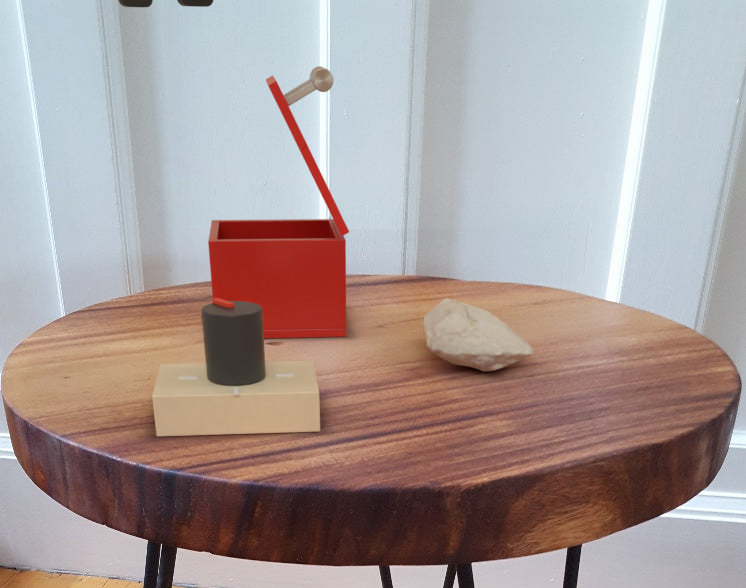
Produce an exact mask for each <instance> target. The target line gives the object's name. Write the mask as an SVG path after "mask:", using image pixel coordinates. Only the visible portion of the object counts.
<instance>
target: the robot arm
mask: <svg viewBox="0 0 746 588" xmlns="http://www.w3.org/2000/svg"><path fill="white" fill-rule="evenodd" d="M176 1H177V3H178V4H179V5H180V6H181V7H198V8H199V7H200V8H203V7H204V8H205V7H206V8H207V7H210V6H212V5H213V2H214V0H176ZM118 2H119V4H120V5H121V6H122V7H124V8H149V7H151V6H152V4H153V0H118Z"/></svg>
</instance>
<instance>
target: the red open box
mask: <svg viewBox="0 0 746 588" xmlns="http://www.w3.org/2000/svg"><path fill="white" fill-rule="evenodd" d="M207 243H208V256H209V257H208V258H209V267H210V268H209V269H210V282H211V293H212V299H214V298H220V299H223V300H226V301H244V302H251V303H255V304H258V305H260V306H261V307H262V314H263V333H264V339H298V338H301V339H302V338H339V337H340V338H341V337H342V338H343V337H344V338H345V337H347V260H346V259H347V251H346V250H347V240H346V238H345V235H343V236H341V234H340V232H339V230H338V228H337V226H336V224H335V221H334V219H333V218H319V219H318V218H316V219H315V218H307V219H306V218H301V219H300V218H299V219H296V218H293V219H212V220H211V223H210V229H209V235H208V241H207Z"/></svg>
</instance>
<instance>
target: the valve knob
mask: <svg viewBox="0 0 746 588" xmlns="http://www.w3.org/2000/svg"><path fill="white" fill-rule="evenodd" d="M200 311H201V313H200V314H201V323H202V333H203V334H202V335H203V346H204V347H203V348H204V356H205V357H204V359H205V363H206V370H207V378H208V380H210V381H211V382H214V383H217V384H222V385H247V384H252V383H256V382H259V381H261V380H263V379H264V378H265V376H266V370H265V362H266V355H265V338H264V333H263V314H262V307H261V306H260V305H258V304H255V303H251V302H244V301H226V300H223V299H220V298H214V299H213V298H212V299H211V303H208V304H205V305H204V306H202V307H201V309H200Z"/></svg>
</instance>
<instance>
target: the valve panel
mask: <svg viewBox="0 0 746 588" xmlns="http://www.w3.org/2000/svg"><path fill="white" fill-rule="evenodd" d="M265 370H266V376H265V378H264V379H263V380H261V381H259V382H256V383H252V384H247V385H222V384H217V383H214V382H211V381H210V380H208V378H207V370H206V362H197V363H196V362H194V363H160V364H159V367H158V371H157V374H156V375H157V376H156V379H155V383H154V387H153V391H152V396H151V400H152V409H153V416H154V424H155V425H154V426H155V435H156V437H186V436H188V437H189V436H190V437H191V436H220V435H249V434H250V435H251V434H252V435H253V434H254V435H255V434H283V433H314V432H317V433H318V432H321V406H320V402H321V401H320V388H319V384H318V378H317V375H316V374H317V373H316V370H315V365H314V360H277V361H275V360H274V361H273V360H272V361H265Z"/></svg>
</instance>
